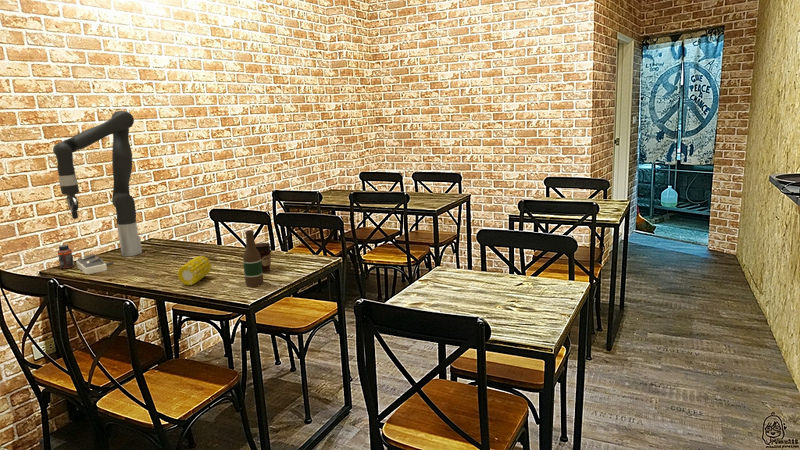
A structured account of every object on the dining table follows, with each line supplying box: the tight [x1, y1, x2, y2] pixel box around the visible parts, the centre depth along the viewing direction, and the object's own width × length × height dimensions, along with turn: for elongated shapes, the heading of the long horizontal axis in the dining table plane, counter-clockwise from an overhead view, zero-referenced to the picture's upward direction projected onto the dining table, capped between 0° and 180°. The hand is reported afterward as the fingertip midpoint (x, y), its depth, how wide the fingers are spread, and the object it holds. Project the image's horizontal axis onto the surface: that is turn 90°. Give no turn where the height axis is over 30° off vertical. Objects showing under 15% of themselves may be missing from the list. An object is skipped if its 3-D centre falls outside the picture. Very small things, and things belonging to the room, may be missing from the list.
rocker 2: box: [85, 256, 102, 264], centre depth 257 cm, size 6×4×2 cm
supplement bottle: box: [57, 244, 75, 270], centre depth 263 cm, size 6×6×11 cm
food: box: [177, 255, 212, 286], centre depth 238 cm, size 15×12×10 cm
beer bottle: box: [242, 229, 264, 287], centre depth 229 cm, size 8×8×24 cm
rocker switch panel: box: [75, 254, 114, 275], centre depth 263 cm, size 14×18×5 cm
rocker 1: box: [79, 252, 97, 260], centre depth 264 cm, size 6×4×2 cm
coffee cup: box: [255, 242, 272, 274], centre depth 248 cm, size 9×8×13 cm
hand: (75, 218), depth 265 cm, fingers closed
